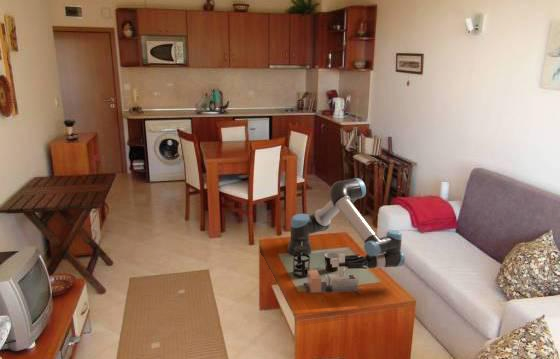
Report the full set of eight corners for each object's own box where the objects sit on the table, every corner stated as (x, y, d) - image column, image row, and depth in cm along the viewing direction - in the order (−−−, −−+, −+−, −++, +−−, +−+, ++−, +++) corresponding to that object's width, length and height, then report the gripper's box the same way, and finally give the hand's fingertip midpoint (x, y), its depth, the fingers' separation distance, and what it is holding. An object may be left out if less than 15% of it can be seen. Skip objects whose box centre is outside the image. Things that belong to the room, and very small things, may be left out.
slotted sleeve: (303, 285, 239) (303, 274, 237) (352, 282, 243) (352, 271, 241) (307, 296, 227) (308, 285, 226) (359, 293, 231) (359, 281, 230)
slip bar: (325, 282, 236) (326, 253, 232) (347, 280, 238) (348, 252, 234) (326, 285, 232) (328, 256, 228) (349, 284, 234) (350, 255, 230)
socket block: (307, 283, 238) (307, 270, 236) (316, 283, 238) (316, 269, 237) (311, 292, 228) (311, 279, 226) (320, 292, 229) (321, 278, 227)
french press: (311, 280, 245) (313, 241, 239) (295, 282, 243) (295, 242, 237) (306, 271, 256) (307, 233, 250) (290, 272, 254) (290, 234, 249)
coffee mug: (338, 275, 251) (339, 259, 248) (323, 274, 252) (323, 257, 250) (340, 267, 262) (340, 251, 259) (325, 265, 263) (325, 249, 261)
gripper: (380, 273, 228) (335, 276, 225) (369, 260, 243) (327, 263, 240) (381, 260, 226) (335, 262, 223) (370, 248, 242) (327, 250, 238)
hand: (331, 263), depth 231 cm, fingers closed on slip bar, 3 cm apart
